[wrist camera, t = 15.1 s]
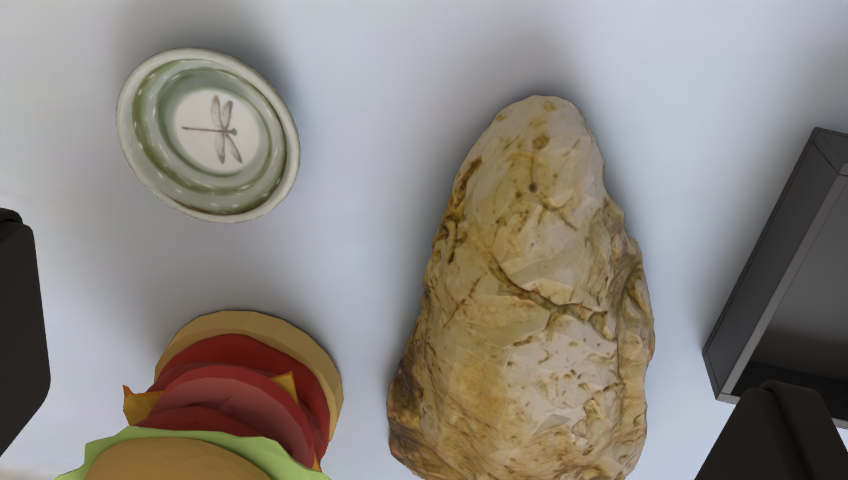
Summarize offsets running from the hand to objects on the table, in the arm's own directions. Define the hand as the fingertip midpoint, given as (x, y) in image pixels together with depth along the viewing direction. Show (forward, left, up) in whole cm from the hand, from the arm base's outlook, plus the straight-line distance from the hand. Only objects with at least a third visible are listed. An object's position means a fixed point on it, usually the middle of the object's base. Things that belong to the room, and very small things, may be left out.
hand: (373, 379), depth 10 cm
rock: (+20, +6, -28) cm, 35 cm away
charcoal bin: (+12, +22, -28) cm, 38 cm away
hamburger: (+29, -9, -28) cm, 42 cm away
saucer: (+11, -12, -28) cm, 33 cm away
